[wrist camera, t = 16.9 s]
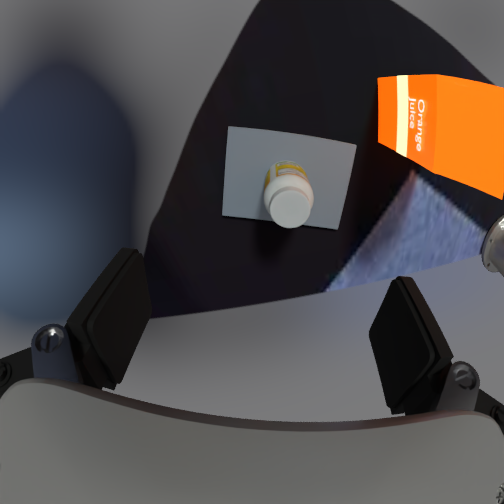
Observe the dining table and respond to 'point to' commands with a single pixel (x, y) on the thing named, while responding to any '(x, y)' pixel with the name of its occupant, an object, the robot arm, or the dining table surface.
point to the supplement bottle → (288, 194)
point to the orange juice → (446, 127)
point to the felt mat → (285, 149)
